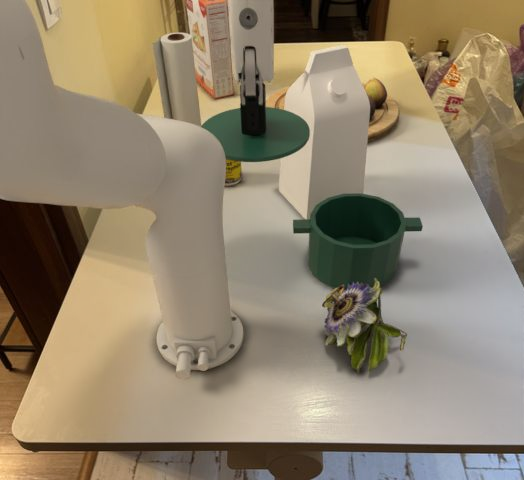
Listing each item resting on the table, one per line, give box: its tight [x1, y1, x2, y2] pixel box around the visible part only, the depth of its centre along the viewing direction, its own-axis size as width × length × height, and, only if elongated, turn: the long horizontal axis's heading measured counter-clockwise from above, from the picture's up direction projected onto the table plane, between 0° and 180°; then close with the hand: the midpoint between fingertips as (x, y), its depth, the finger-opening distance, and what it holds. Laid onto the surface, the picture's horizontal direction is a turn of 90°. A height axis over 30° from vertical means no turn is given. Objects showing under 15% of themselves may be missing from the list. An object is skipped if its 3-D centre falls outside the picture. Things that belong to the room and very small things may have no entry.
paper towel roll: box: [151, 32, 202, 127], centre depth 108 cm, size 7×6×21 cm
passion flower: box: [321, 278, 408, 373], centre depth 72 cm, size 11×11×12 cm
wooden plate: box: [266, 77, 401, 143], centre depth 120 cm, size 32×32×8 cm
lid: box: [201, 82, 310, 163], centre depth 71 cm, size 16×16×7 cm
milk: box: [278, 44, 370, 219], centre depth 90 cm, size 12×12×26 cm
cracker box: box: [185, 0, 235, 100], centre depth 128 cm, size 14×6×21 cm, turn 25°
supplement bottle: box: [224, 159, 243, 187], centre depth 101 cm, size 6×6×10 cm
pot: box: [292, 193, 424, 290], centre depth 83 cm, size 15×20×8 cm
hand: (253, 125), depth 72 cm, fingers closed on lid, 3 cm apart
